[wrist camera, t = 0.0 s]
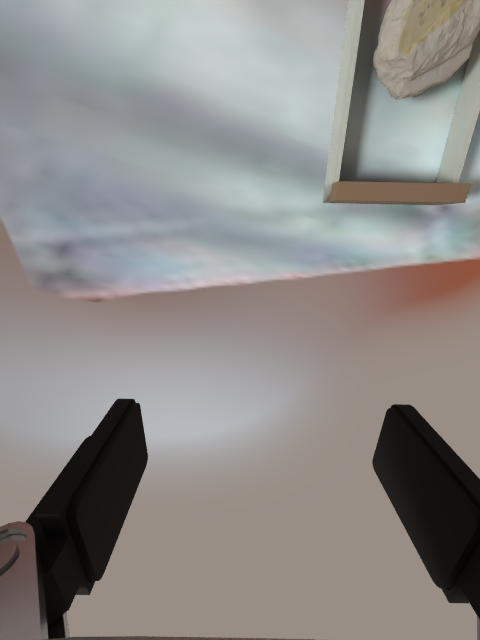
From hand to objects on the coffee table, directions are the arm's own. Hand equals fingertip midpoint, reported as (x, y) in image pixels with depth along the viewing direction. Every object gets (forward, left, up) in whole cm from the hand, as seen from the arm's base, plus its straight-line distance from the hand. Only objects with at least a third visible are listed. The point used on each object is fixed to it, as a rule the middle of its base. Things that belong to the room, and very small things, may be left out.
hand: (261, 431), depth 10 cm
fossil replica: (-26, +18, -32) cm, 45 cm away
